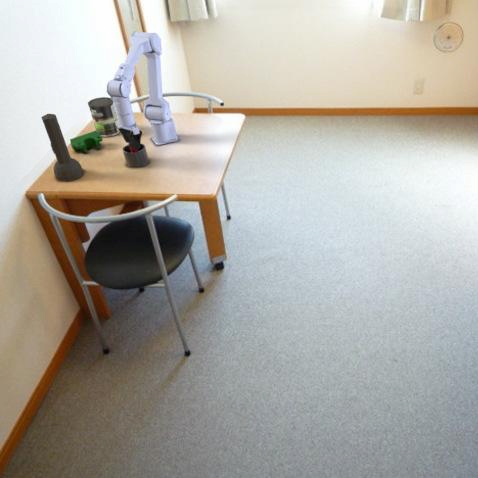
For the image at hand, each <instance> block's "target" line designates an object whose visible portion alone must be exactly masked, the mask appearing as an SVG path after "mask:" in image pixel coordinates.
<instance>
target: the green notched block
mask: <svg viewBox="0 0 478 478" xmlns="http://www.w3.org/2000/svg"><path fill="white" fill-rule="evenodd" d="M69 142H70V146H71V149H72V150H73V151H74V152H75V153H79V152H81V151H83V152H84V153H85V154H86V155H87V154H88V149H90V148H95V149H97V150H99V148H100V147H99V144H100V143H102V142H103V137H102V136H101V135H100V134H99V133H98V132H97V131H96V130H93V131H91V132H88V133H85V134H81V135H79V136H76V137H73V138H70V139H69Z"/></svg>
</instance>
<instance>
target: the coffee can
mask: <svg viewBox="0 0 478 478" xmlns="http://www.w3.org/2000/svg"><path fill="white" fill-rule="evenodd" d="M87 106H88V108H89V112H90V115H91V117H92V121H93V125H94V128H95V131H97V132H98V133H99V134H100V135H101V136H102V138H109V137H113V136H117V135H118V134H121V132H120V131H119V130H118V128H117V127H116V126H117V125H119V123H118V120H117V118H118V116H117V113H116V109H115V105H114V102H113V101H112V100H111V97H108V96H107V97H106V96H102V97H96V98H92V99H90V100H89V101H88V102H87Z"/></svg>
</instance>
